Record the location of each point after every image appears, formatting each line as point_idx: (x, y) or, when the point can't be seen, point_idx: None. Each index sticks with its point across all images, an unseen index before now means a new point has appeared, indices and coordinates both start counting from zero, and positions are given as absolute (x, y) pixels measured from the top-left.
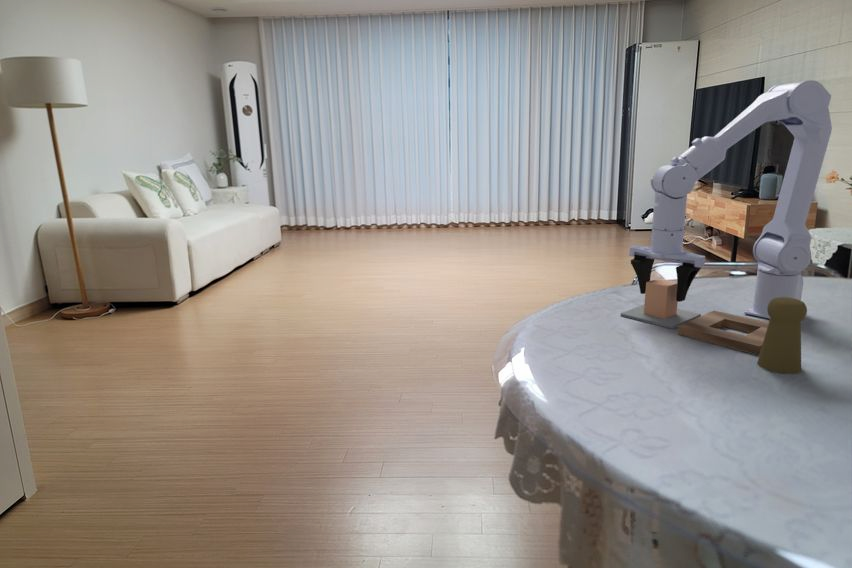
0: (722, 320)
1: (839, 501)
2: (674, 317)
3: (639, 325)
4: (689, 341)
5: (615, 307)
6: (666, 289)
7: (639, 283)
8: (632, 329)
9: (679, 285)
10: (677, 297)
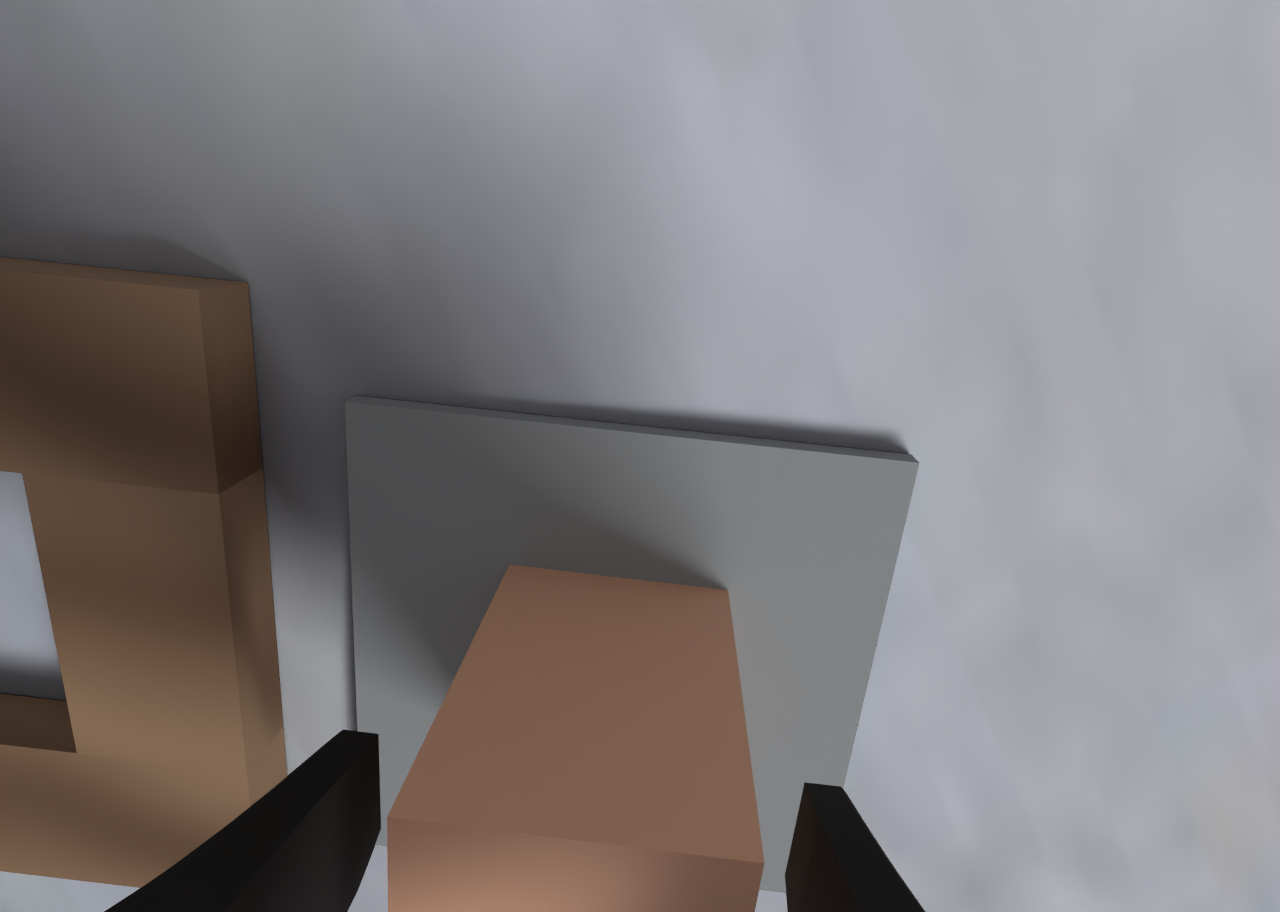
0: (73, 715)
1: None
2: (465, 648)
3: (632, 290)
4: (62, 149)
5: (1050, 661)
6: (421, 782)
7: (892, 881)
8: (628, 110)
9: (210, 880)
10: (341, 757)
